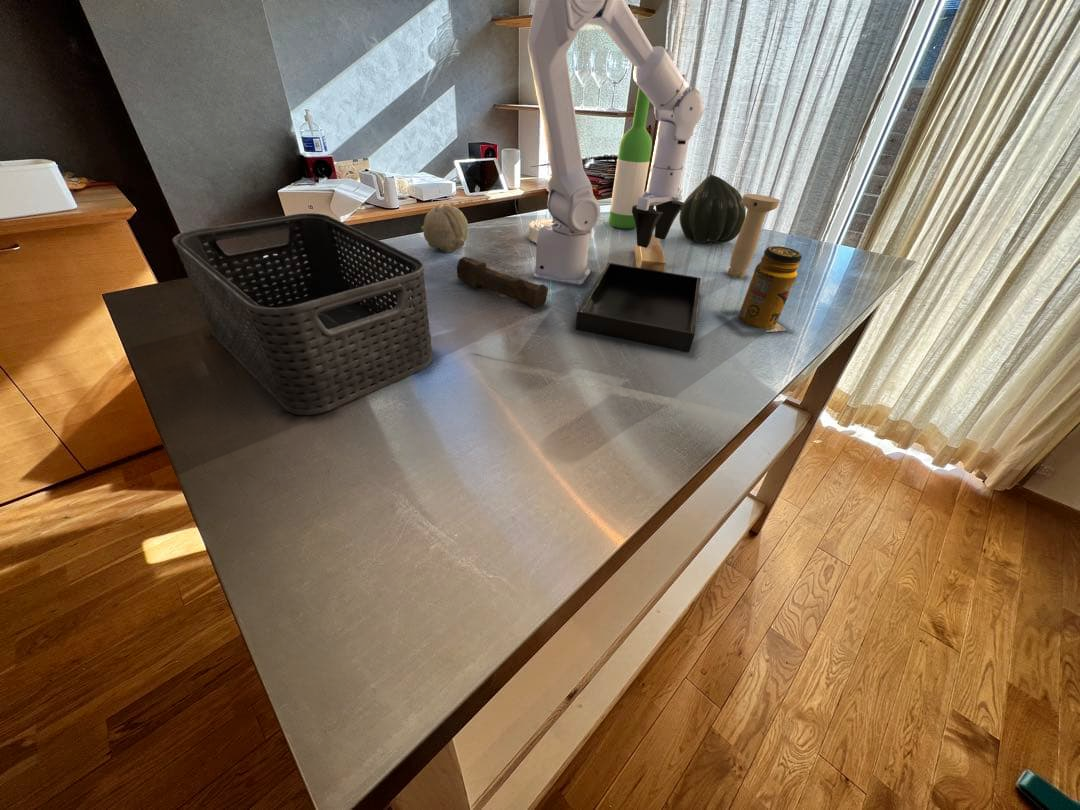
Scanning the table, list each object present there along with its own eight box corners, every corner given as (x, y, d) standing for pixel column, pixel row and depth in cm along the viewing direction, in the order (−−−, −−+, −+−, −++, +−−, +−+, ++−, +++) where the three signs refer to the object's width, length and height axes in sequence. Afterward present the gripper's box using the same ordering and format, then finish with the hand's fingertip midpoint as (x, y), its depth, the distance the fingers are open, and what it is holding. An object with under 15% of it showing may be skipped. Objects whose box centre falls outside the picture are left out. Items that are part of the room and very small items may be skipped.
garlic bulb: (467, 259, 97) (482, 216, 91) (440, 263, 90) (454, 217, 84) (437, 237, 99) (449, 193, 93) (409, 239, 92) (420, 192, 87)
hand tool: (548, 305, 75) (550, 279, 72) (534, 312, 72) (536, 285, 70) (468, 276, 84) (467, 251, 81) (453, 281, 81) (451, 256, 78)
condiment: (786, 331, 72) (818, 258, 65) (741, 334, 70) (769, 259, 63) (759, 311, 78) (786, 242, 70) (717, 313, 76) (740, 243, 69)
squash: (756, 230, 99) (755, 166, 100) (689, 229, 99) (689, 165, 101) (729, 256, 114) (728, 200, 115) (671, 255, 114) (671, 199, 115)
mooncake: (532, 229, 109) (533, 214, 107) (580, 234, 108) (582, 219, 106) (524, 244, 100) (525, 228, 98) (577, 249, 99) (579, 233, 97)
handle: (746, 283, 88) (774, 203, 79) (715, 274, 91) (739, 196, 82) (755, 277, 91) (783, 199, 82) (725, 268, 94) (749, 192, 85)
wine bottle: (607, 228, 114) (627, 85, 96) (608, 220, 120) (628, 84, 102) (637, 231, 113) (664, 87, 95) (637, 223, 119) (662, 86, 101)
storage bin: (444, 361, 59) (435, 263, 51) (300, 426, 47) (258, 312, 39) (337, 294, 74) (317, 209, 66) (207, 331, 62) (162, 234, 54)
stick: (637, 282, 85) (641, 260, 83) (634, 252, 99) (638, 232, 97) (660, 285, 85) (665, 262, 82) (654, 254, 99) (658, 234, 96)
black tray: (574, 331, 68) (577, 311, 66) (605, 279, 86) (607, 262, 84) (688, 354, 64) (694, 334, 62) (695, 295, 82) (700, 277, 80)
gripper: (669, 175, 74) (652, 255, 82) (703, 166, 83) (684, 239, 92) (632, 168, 78) (619, 246, 86) (669, 160, 87) (654, 231, 95)
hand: (651, 242), depth 89 cm, fingers open, 7 cm apart
